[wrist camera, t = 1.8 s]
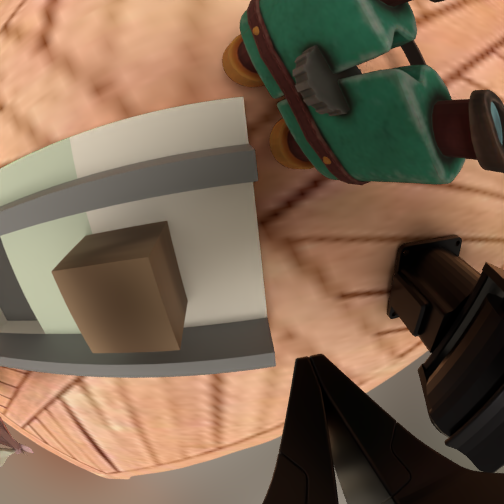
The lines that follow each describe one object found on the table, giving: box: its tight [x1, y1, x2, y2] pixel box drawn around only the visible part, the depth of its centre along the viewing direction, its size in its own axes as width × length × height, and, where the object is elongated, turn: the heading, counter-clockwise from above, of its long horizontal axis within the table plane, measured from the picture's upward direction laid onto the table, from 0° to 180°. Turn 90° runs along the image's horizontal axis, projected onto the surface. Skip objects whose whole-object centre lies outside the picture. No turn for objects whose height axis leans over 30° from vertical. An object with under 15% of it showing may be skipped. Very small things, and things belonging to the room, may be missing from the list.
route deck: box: [0, 97, 276, 378], centre depth 14 cm, size 25×16×5 cm, turn 96°
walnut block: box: [51, 221, 188, 353], centre depth 13 cm, size 5×5×4 cm
